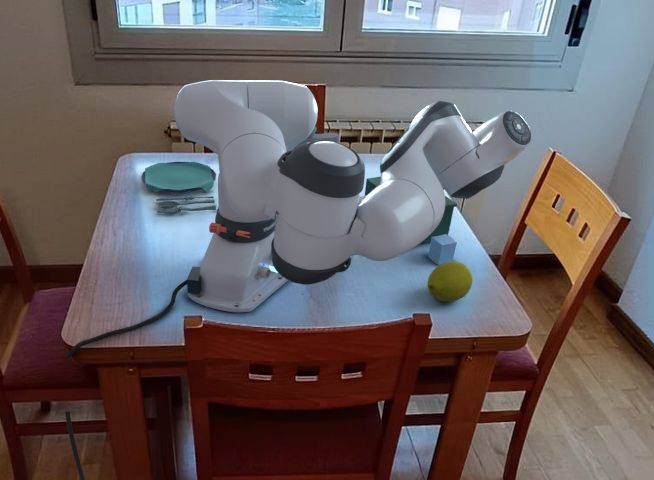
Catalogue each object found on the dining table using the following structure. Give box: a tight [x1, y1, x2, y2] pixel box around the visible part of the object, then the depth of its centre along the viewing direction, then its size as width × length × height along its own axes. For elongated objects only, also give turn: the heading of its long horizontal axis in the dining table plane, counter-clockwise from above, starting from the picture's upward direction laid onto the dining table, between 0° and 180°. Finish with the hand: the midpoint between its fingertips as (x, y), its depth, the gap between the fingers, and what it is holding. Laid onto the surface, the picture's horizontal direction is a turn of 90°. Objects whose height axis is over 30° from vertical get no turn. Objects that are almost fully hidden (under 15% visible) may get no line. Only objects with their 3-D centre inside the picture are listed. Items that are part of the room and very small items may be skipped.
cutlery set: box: [140, 161, 217, 214], centre depth 162 cm, size 20×30×2 cm, turn 11°
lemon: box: [427, 260, 473, 303], centre depth 123 cm, size 11×8×8 cm
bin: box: [364, 181, 455, 246], centre depth 149 cm, size 19×13×9 cm
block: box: [427, 234, 458, 266], centre depth 137 cm, size 4×4×5 cm
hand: (430, 189), depth 138 cm, fingers open, 8 cm apart
